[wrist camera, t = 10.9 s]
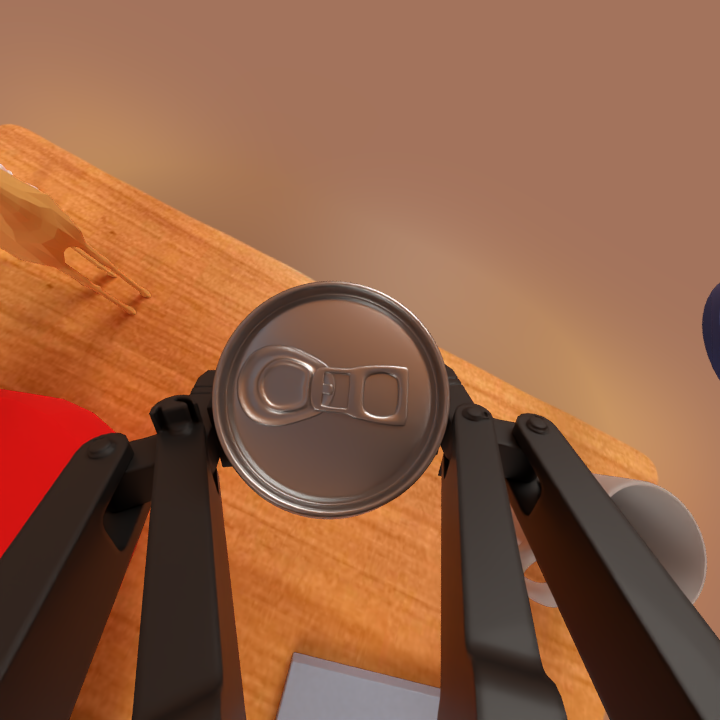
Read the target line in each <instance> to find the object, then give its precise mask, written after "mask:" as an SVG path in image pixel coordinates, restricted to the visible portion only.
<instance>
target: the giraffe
mask: <svg viewBox="0 0 720 720" xmlns="http://www.w3.org/2000/svg"><path fill="white" fill-rule="evenodd" d="M68 247H71V248H73V249H74V250H75V251H77V252H78V253H79V254H81V255H82V256H83V257H85V258H86V259H87V260H89V261H90V262H91V263H93V264H94V265H95V266H97V267H98V268H99V269H102V270H104V271H106V272H107V274H108V275H109V276H111V277H115V278H116V277H117V276H116V275H115V273H116V274H117V275H119V276H120V277H121V278H122V279H123V280H125V281H126V282H127V283H129V284H130V285H131V286H132V287H134V288H135V289H136V290H138V291H139V292H140V294H141V295H142V296H144V297H149V298H150V297H151V294H150V292H149V291H148V290H146V289H144V288H142V287H141V286H139V285H138V284H136V283H135V282H134V281H133V280H131V279H130V278H129V277H128V276H126V275H125V274H124V273H123V272H121V271H120V270H119V269H118V268H116V267H115V266H114V265H113V264H112V263H111V262H110V261H109V260H108V259H107V258H106V257H104V256H102V255H101V254H100V253H99V252H98V251H96V250H95V249H94V248H93V247H92V246H91V245H89V244H88V243H87V242H86V241H85V240H84V237H83V235H82V233H81V231H80V230H79V228H78V227H77V226H76V225H75V223H74V222H73V221H72V219H71V218H70V217H69V215H68V214H67V213H66V212H64V211H63V210H62V209H61V208H60V207H59V206H58V204H57V203H56V202H55V201H54V200H53V199H52V198H51V196H50V195H48V194H46V193H44V192H42V191H40V190H38V189H37V188H35V187H33V186H31V185H29V184H27V183H25V182H24V181H22V180H20V179H18V178H16V177H15V176H13V175H11V174H9V173H7V172H6V171H4V170H2V169H0V248H2V249H3V250H5V251H6V252H8V253H10V254H11V255H13V256H15V257H16V258H18V259H20V260H23V261H28V262H32V263H37V264H41V265H46V266H50V267H55V268H57V269H58V270H60V271H62V272H63V273H65V274H67V275H69V276H70V277H72V278H74V279H75V280H77V281H78V282H79V283H80V284H81V285H83V286H86V287H88V288H90V289H92V290H94V291H95V292H97V293H98V294H100V295H102V296H103V297H105V298H106V299H108V300H110V301H111V302H113V303H114V304H116V305H118V306H119V307H120V308H122V309H123V310H124V311H125V312H126V313H128V314H133V315H135V314H136V311H135V309H134V308H133V307H131V306H127V305H126V304H124V303H122V302H121V301H119V300H117V299H116V298H114V297H113V296H111V295H110V294H108V293H106V292H105V291H103V289H102V288H101V287H100V286H99V285H94V284H93V283H92V282H91V281H90V280H89V279H88V278H86V277H85V276H83V275H81V274H80V273H79V272H77V271H76V270H74V269H73V268H72V267H70V266H69V265H67V264H66V263H65V259H64V253H63V252H64V251H65V249H66V248H68ZM76 247H79V248H80V249H82V250H83V251H85V252H86V253H87V254H89V255H90V256H91V257H93V258H94V259H96V260H97V261H98V262H97V261H95V260H94V259H92V258H91V257H89V256H88V255H86V254H85V253H83V252H82V251H80V250H79V249H77V248H76ZM103 265H104V266H106V267H108V268H110V269H111V270H112V271H114V272H115V273H113V272H112V271H108V270H107V269H106V268H105V267H104V266H103Z"/></svg>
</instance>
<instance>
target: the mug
mask: <svg viewBox="0 0 720 720" xmlns="http://www.w3.org/2000/svg"><path fill="white" fill-rule="evenodd" d="M592 474H593V473H592ZM593 475H594V477H595V478H596V479H597V481H598V482H599V483H600V484H601V486H602V487H603V488H604V490H605V491H606V492H607V494H608V495H609V496H610V498H611V499H612V500H613V501H614V503H615V504H616V505H617V507H618V508H619V509H620V511H621V512H622V513H623V514H624V516H625V517H626V518H627V520H628V521H629V522H630V524H631V525H632V526H633V528H634V529H635V530H636V531H637V533H638V534H639V535H640V537H641V538H642V539H643V541H644V542H645V543H646V544H647V546H648V547H649V548H650V550H651V551H652V552H653V554H654V555H655V556H656V558H657V559H658V560H659V561H660V563H661V564H662V565H663V567H664V568H665V569H666V571H667V572H668V573H669V575H670V576H671V577H672V578H673V580H674V581H675V582H676V584H677V585H678V586H679V588H680V589H681V590H682V591H683V593H684V594H685V595H686V597H687V598H688V599H689V601H690V602H691V603H692V605H693V604H694V602H695V601H696V600H697V598H698V597H699V595H700V593H701V591H702V588H703V585H704V582H705V578H706V570H707V559H706V550H705V545H704V541H703V537H702V534H701V532H700V529H699V527H698V526H697V523H696V521H695V519H694V518H693V516H692V515H691V513H690V512H689V510H688V509H687V508H686V507H685V505H684V504H683V503H682V502H681V501H680V500H679V499H678V498H677V497H675V496H674V495H673V494H672V493H670V492H669V491H667V490H665V489H664V488H662V487H660V486H658V485H655V484H652V483H649V482H646V481H641V480H634V479H628V478H621V477H614V476H607V475H600V474H593ZM510 507H511V504H510ZM511 512H512V517H513V522H514V527H515V532H516V537H517V542H518V548H519V553H520V558H521V563H522V568H523V573H524V572H525V570H526V569H527V568H528V567H529V566H530V565H531V564H533V563H534V562H536V559H535V556H534V554H533V552H532V550H531V548H530V546H529V543H528V541H527V539H526V537H525V535H524V533H523V530H522V528H521V526H520V524H519V522H518V520H517V517H516V515H515V513H514V511H513V509H512V507H511ZM524 578H525V583H526V588H527V593H528V597H529V598H530V599H532V600H533V601H535V602H537V603H539V604H542V605H544V606H548V607H558V606H557V604H556V602H555V600H554V598H553V595H552V593H551V591H550V589H549V587H548V585H547V582H545V583H537V582H534V581H531V580H529V579H527V578H526V577H524Z"/></svg>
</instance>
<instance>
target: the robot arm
mask: <svg viewBox="0 0 720 720" xmlns="http://www.w3.org/2000/svg"><path fill="white" fill-rule="evenodd" d="M445 367H446V371H447V376H448V382H449V391H450V407H449V416H448V422H447V426H446V430H445V434H444V437H443V439H442V442H441V448H442V450H443V452H444V454H443V458H442V462H441V466H440V470H439V474H438V476H441V475H442V487H441V690H440V701H439V708H438V716H437V720H567V715H566V712H565V708H564V705H563V701H562V698H561V695H560V693H559V691H558V689H557V687H556V685H555V683H554V682H553V681H552V680H551V679H550V678H549V677H548V676H547V675H546V673H545V671H544V669H543V666H542V663H541V659H540V654H539V649H538V644H537V639H536V634H535V629H534V624H533V619H532V614H531V608H530V603H529V598H528V593H527V588H526V583H525V578H524V573H523V568H522V563H521V558H520V553H519V548H518V542H517V537H516V532H515V527H514V522H513V517H512V512H511V507H512V509H513V511H514V513H515V515H516V517H517V520H518V522H519V524H520V526H521V528H522V530H523V533H524V535H525V537H526V539H527V541H528V543H529V546H530V548H531V550H532V552H533V554H534V556H535V559H536V561H537V563H538V565H539V567H540V569H541V572H542V574H543V576H544V578H545V580H546V582H547V585H548V587H549V589H550V591H551V593H552V595H553V598H554V600H555V602H556V604H557V606H558V608H559V611H560V613H561V615H562V617H563V619H564V621H565V624H566V626H567V628H568V630H569V632H570V634H571V637H572V639H573V641H574V643H575V645H576V647H577V650H578V652H579V654H580V656H581V658H582V660H583V663H584V665H585V667H586V669H587V671H588V673H589V676H590V678H591V680H592V682H593V684H594V686H595V689H596V691H597V693H598V695H599V697H600V699H601V702H602V704H603V706H604V708H605V710H606V712H607V714H608V717H609V719H610V720H720V640H719V639H718V637H717V636H716V635H715V633H714V632H713V631H712V629H711V628H710V627H709V625H708V624H707V623H706V622H705V620H704V619H703V618H702V617H701V615H700V614H699V612H698V611H697V610H696V608H695V607H694V606H693V605H692V603H691V602H690V601H689V599H688V598H687V597H686V595H685V594H684V593H683V591H682V590H681V589H680V588H679V586H678V585H677V584H676V582H675V581H674V580H673V578H672V577H671V576H670V575H669V573H668V572H667V571H666V569H665V568H664V567H663V565H662V564H661V563H660V561H659V560H658V559H657V558H656V556H655V555H654V554H653V552H652V551H651V550H650V548H649V547H648V546H647V544H646V543H645V542H644V541H643V539H642V538H641V537H640V535H639V534H638V533H637V531H636V530H635V529H634V528H633V526H632V525H631V524H630V522H629V521H628V520H627V518H626V517H625V516H624V514H623V513H622V512H621V511H620V509H619V508H618V507H617V505H616V504H615V503H614V501H613V500H612V499H611V498H610V496H609V495H608V494H607V492H606V491H605V490H604V488H603V487H602V486H601V484H600V483H599V482H598V481H597V479H596V478H595V477H594V475H593V474H592V473H591V471H590V470H589V469H588V468H587V466H586V465H585V464H584V462H583V461H582V460H581V458H580V457H579V456H578V454H577V453H576V452H575V451H574V449H573V448H572V447H571V445H570V444H569V443H568V441H567V440H566V439H565V437H564V436H563V435H562V434H561V432H560V431H559V430H558V428H557V427H556V426H555V425H554V424H553V423H552V422H551V421H549V420H548V419H546V418H544V417H542V416H539V415H536V414H530V413H526V414H521V415H520V416H518V418H517V420H516V423H514V422H509V421H504V420H499V419H495V418H493V417H492V415H491V413H490V412H489V411H488V410H487V409H485V408H484V407H482V406H480V405H477V404H474V403H473V401H472V400H471V398H470V396H469V395H468V393H467V392H466V390H465V388H464V387H463V385H461V382H460V381H459V379H457V376H456V374H455V373H454V371H453V370H452V369H451V368H450V367H448V366H447V365H445ZM215 372H216V370H208V371H207V372H205V373H204V374H203V375H202V376H200V377H199V378H198V380H197V382H196V384H195V385H194V388H193V389H192V391H191V394H190V395H176V396H172V397H169V398H165V399H164V400H162V401H160V402H158V403H157V404H156V405H155V406H153V407H152V409H151V411H150V413H149V414H150V417H151V419H152V422H153V424H154V427H155V429H156V432H157V434H156V435H153V436H150V437H146V438H142V439H139V440H135V441H131V442H129V441H128V439H127V437H126V435H123V434H121V433H108V434H103V435H100V436H98V437H95V438H93V439H91V440H89V441H88V442H86V443H84V444H83V445H82V446H81V447H80V448H79V449H78V450H77V451H76V452H75V454H74V455H73V456H72V458H71V459H70V461H69V462H68V463H67V465H66V466H65V468H64V469H63V470H62V472H61V473H60V475H59V476H58V478H57V479H56V480H55V482H54V483H53V485H52V486H51V487H50V489H49V490H48V492H47V493H46V494H45V496H44V497H43V499H42V500H41V502H40V503H39V504H38V506H37V507H36V509H35V510H34V511H33V513H32V514H31V516H30V517H29V518H28V520H27V521H26V523H25V524H24V526H23V527H22V528H21V530H20V531H19V533H18V534H17V535H16V537H15V538H14V540H13V541H12V542H11V544H10V545H9V547H8V548H7V550H6V551H5V552H4V554H3V555H2V557H1V558H0V720H69V719H70V716H71V713H72V711H73V708H74V705H75V703H76V700H77V698H78V695H79V692H80V690H81V687H82V685H83V682H84V679H85V677H86V674H87V672H88V669H89V666H90V664H91V661H92V659H93V656H94V653H95V651H96V648H97V645H98V643H99V640H100V638H101V635H102V632H103V630H104V627H105V625H106V622H107V619H108V617H109V614H110V612H111V609H112V606H113V604H114V601H115V599H116V596H117V593H118V591H119V588H120V586H121V583H122V580H123V578H124V575H125V572H126V570H127V567H128V565H129V562H130V559H131V557H132V554H133V552H134V549H135V546H136V544H137V541H138V539H139V536H140V533H141V531H142V528H143V526H144V523H145V520H146V518H147V515H148V512H149V510H150V507H151V510H150V522H149V533H148V544H147V556H146V567H145V578H144V590H143V601H142V612H141V624H140V635H139V646H138V658H137V669H136V680H135V692H134V703H133V714H132V720H246V714H245V705H244V697H243V688H242V679H241V670H240V661H239V652H238V643H237V634H236V625H235V616H234V607H233V599H232V590H231V581H230V572H229V563H228V554H227V545H226V536H225V527H224V518H223V509H222V501H221V492H220V483H219V475H218V471H217V468H216V467H217V464H218V461H219V458H220V459H221V463H222V466H223V467H232V465H231V463H230V462H229V460H228V458H227V456H226V454H225V452H224V450H223V448H222V446H221V444H220V441H219V438H218V435H217V432H216V428H215V423H214V418H213V409H212V391H213V382H214V377H215ZM437 454H438V451H437V453H436V455H437ZM510 504H511V507H510Z"/></svg>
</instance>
